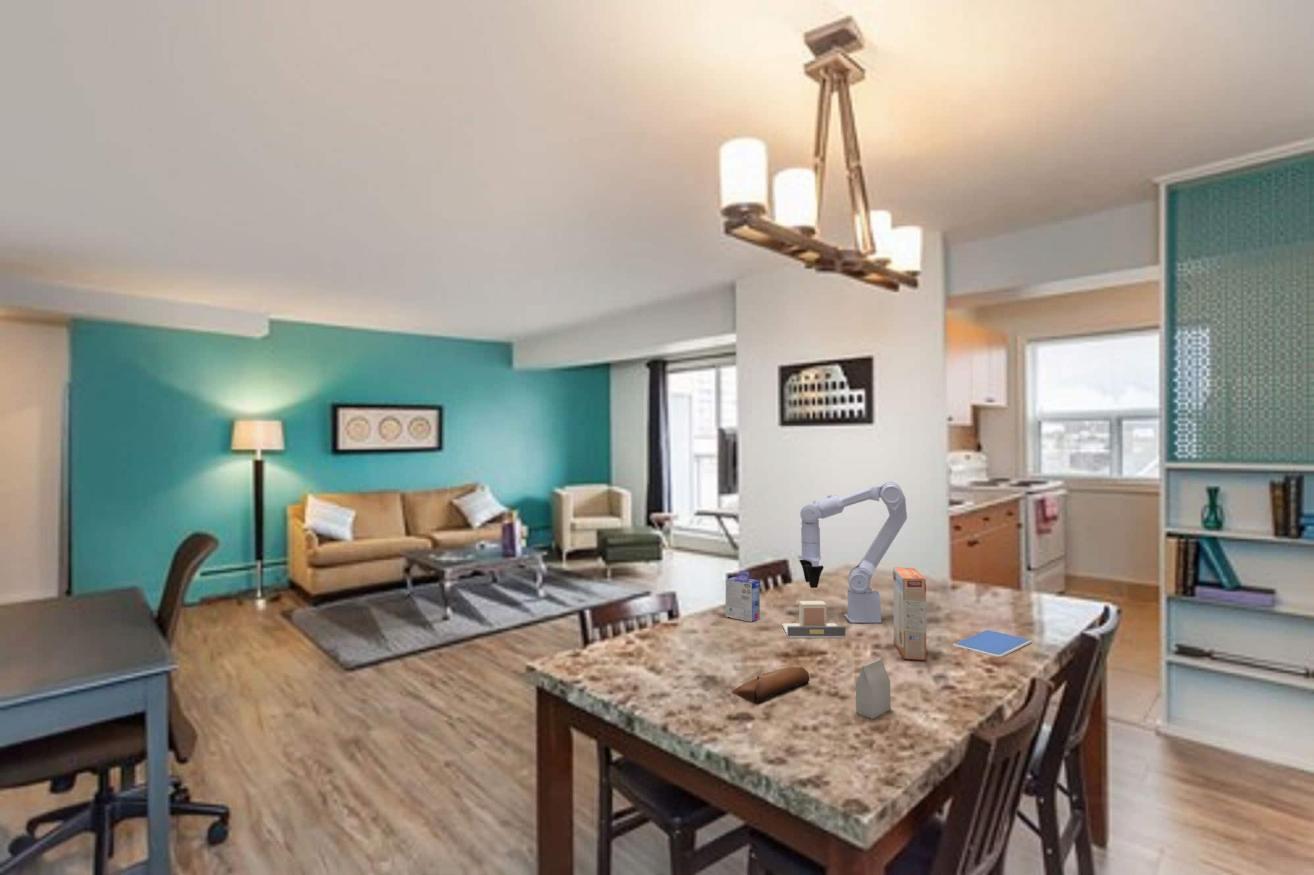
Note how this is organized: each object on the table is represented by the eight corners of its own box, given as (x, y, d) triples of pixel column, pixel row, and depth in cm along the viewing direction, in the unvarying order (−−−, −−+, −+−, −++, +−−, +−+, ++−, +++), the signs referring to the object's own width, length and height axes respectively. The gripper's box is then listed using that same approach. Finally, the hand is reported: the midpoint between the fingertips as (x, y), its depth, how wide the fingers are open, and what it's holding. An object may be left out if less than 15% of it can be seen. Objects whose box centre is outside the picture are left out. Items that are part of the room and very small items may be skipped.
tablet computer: (1000, 660, 157) (999, 655, 157) (951, 647, 167) (951, 642, 167) (1033, 644, 168) (1033, 639, 168) (985, 633, 178) (985, 628, 178)
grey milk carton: (890, 709, 128) (889, 661, 128) (872, 718, 124) (871, 668, 124) (874, 703, 131) (873, 656, 131) (856, 712, 127) (855, 664, 127)
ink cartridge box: (761, 618, 195) (760, 572, 195) (752, 622, 191) (751, 575, 191) (733, 613, 201) (733, 568, 201) (725, 617, 196) (724, 572, 197)
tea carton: (799, 628, 182) (798, 600, 182) (823, 627, 182) (822, 600, 182) (802, 632, 178) (801, 604, 178) (826, 632, 178) (826, 604, 178)
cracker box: (928, 661, 155) (926, 578, 155) (902, 660, 156) (901, 577, 156) (916, 643, 169) (915, 566, 169) (893, 642, 170) (891, 566, 170)
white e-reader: (835, 625, 186) (835, 615, 186) (845, 638, 174) (845, 627, 174) (781, 625, 187) (781, 615, 187) (788, 638, 175) (788, 627, 175)
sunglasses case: (781, 672, 149) (792, 652, 147) (801, 695, 145) (813, 674, 142) (728, 692, 138) (739, 671, 135) (749, 718, 133) (760, 696, 131)
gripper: (794, 538, 204) (794, 579, 204) (802, 546, 190) (802, 590, 190) (815, 538, 204) (816, 579, 204) (825, 545, 189) (826, 590, 189)
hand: (811, 584), depth 197 cm, fingers open, 7 cm apart
